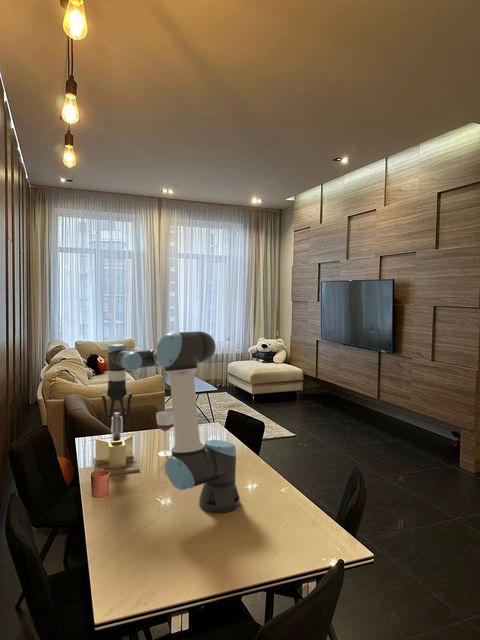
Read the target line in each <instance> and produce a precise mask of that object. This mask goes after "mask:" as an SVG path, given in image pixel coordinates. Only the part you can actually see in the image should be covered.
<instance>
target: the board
mask: <svg viewBox="0 0 480 640" xmlns="http://www.w3.org/2000/svg"><path fill="white" fill-rule="evenodd" d="M93 464H94V465H93V466H94V470H100V469H104V470H109V473H110V475H109V476H115V475H124V474H131V473H132V474H133V473H137V472H140V471H141V469H140V466H139V464H138V461H137V459H136V457H135V455H134V454H133V456H132V457H131V458H129V459H128V460H126V467H125V468H118V469H109V465H108V464H107V463H103V462H99V461H96V457H93Z"/></svg>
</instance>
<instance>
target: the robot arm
mask: <svg viewBox="0 0 480 640" xmlns="http://www.w3.org/2000/svg"><path fill="white" fill-rule="evenodd" d="M216 348H217V346H216V341H215V340H214V338H213V336H212V335H210V334H209V333H207V332H204V331H183V332H182V331H179V332H178V331H177V332H176V331H175V332H169V333H165V334H164V335H163V336H162V337H160V339H159V341H158V343H157V346H156V348H154V349H153V348H152V349H143V350H131V351H130V350H127V347H126V345H125V344H122V343H121V344H120V343H118V344H117V343H114V344H110V345H108V348H107V349H108V350H107V379H108V381H107V392H106V393H104V394H103V393H102V394H101V395H100V396H101V399H102V402H103V403H102V404H103V406H102V407H103V415H104V418H108V426H109V427H110V432H111V434H113V433H114V419H113V413H114V406H115V402H117V401H118V402H119V406H120V407H119V408H120V413H121V434H122V433H123V432H124V431H123V429H124V428H123V427H124V426H123V425H125V424H126V418H127V417H128V416H130V413H131V412H130V411H131V399H132V398H133V393H132V392H128V390H127V389H126V386H127V381H126V378H127V371H137V370H138V369H143V368H151V367H152V368H153V367H163V368H164V372H165V373H166V374H167V375H168V377H169V383H170V384H169V385H170V395H171V397H170V398H171V408H172V412H173V430H174V431H173V432H174V443H175V444H174V445H173V447H172V448H171V452H172V455H171V456H170V457H169V458H168V459H167V460H166V463H165V470H166V475H167V478H168V480H169V481H170V483H171V484H172V486H174V488H175V489H177V490H181V491H184V490H188V489H189V490H190V489H193V488H195V487H198V486H200V485H202V487H201V491H200V494H199V498H198V499H199V500H198V503H199V504H198V505H199V507H200V508H201V509H203V510H204V511H206V512H210V513H213V514H214V513H215V514H216V513H218V514H220V513H221V514H222V513H223V514H224V513H229V512H233V511H234V510H237V509H238V508H239V507H240V502H241V501H240V500H241V499H240V493H239V491H238V486H237V484H236V475H237V474H236V473H237V471H236V470H237V469H236V468H237V454H236V453H237V452H236V451H237V449H236V445H234V444H233V443H232V442H230V441H227V440H226V441H225V440H221V439H210V440H209V439H208V440H207V441H204V443H203V442H201V439H200V427H199V418H198V417H199V416H198V405H197V395H196V394H197V393H196V384H195V382H196V381H195V373H196V372H197V370H198V364H202V363H205V362H207V361H209V360H211V359H212V357H214V355H215V352H216ZM125 396H126V408H125V406H124V401H123V400H124V398H125ZM108 397H109V399H110V405H109V411H108V407H107V406H108V403H107V399H108Z"/></svg>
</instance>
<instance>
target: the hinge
mask: <svg viewBox="0 0 480 640" xmlns="http://www.w3.org/2000/svg"><path fill="white" fill-rule="evenodd" d="M133 437H134V436H133V434H132V435H129V436H127V437H126V438H124V439H122V440H120V441H113V440H112V441H108V440H105V439H100V438H95V458H96V461H99V462H103V463H107V464H108V465H109V469H118V468H125V467H126V460H128V459H129V458H131V457H132V456H133V455H134V453H133V452H134V451H133V447H134V444H133V443H134V440H133V439H134V438H133Z"/></svg>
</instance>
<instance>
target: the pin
mask: <svg viewBox="0 0 480 640" xmlns="http://www.w3.org/2000/svg"><path fill="white" fill-rule="evenodd" d="M121 416H122V413H121V411H120V412H118V411H115V412H113V413H112V417H113V419H114V433H112V442H113V441H122V440H121V434H122V433H121Z"/></svg>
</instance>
